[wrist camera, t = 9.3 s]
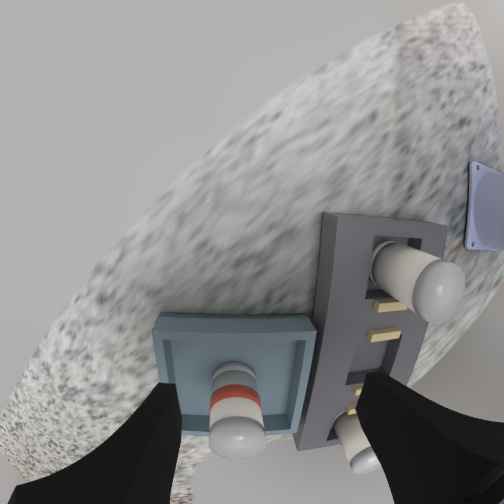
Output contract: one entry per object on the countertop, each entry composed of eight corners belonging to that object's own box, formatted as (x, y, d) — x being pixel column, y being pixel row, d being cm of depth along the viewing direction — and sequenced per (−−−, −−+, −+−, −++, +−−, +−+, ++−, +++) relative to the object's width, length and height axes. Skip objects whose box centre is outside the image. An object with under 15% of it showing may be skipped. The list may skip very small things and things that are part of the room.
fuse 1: (366, 397, 20) (398, 447, 13) (357, 420, 20) (383, 468, 14) (334, 403, 19) (360, 459, 13) (326, 426, 20) (348, 479, 14)
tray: (306, 313, 18) (316, 331, 16) (290, 412, 20) (296, 432, 18) (160, 312, 17) (151, 330, 15) (175, 413, 20) (172, 433, 17)
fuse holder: (426, 221, 18) (452, 227, 15) (374, 417, 22) (386, 436, 19) (322, 212, 17) (341, 217, 14) (292, 432, 21) (298, 455, 18)
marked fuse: (261, 363, 18) (274, 430, 12) (251, 395, 19) (259, 460, 13) (215, 357, 18) (211, 425, 12) (208, 390, 19) (205, 456, 12)
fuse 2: (404, 240, 17) (470, 264, 10) (398, 283, 17) (456, 320, 11) (367, 238, 16) (431, 264, 10) (361, 285, 17) (416, 328, 11)
